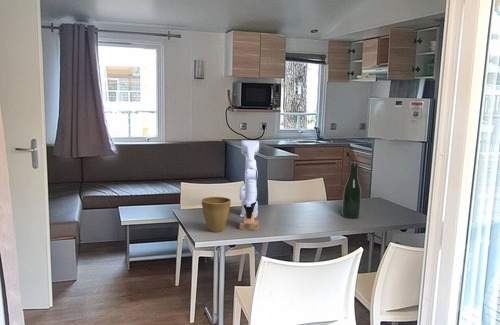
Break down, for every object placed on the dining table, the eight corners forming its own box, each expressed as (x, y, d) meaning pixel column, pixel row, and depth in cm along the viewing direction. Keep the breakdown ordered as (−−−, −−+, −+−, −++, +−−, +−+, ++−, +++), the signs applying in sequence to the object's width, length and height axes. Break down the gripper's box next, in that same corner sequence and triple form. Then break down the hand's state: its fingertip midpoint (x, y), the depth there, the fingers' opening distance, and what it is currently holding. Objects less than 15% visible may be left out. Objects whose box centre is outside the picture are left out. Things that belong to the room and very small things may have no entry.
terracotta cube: (254, 221, 243) (254, 212, 242) (253, 223, 238) (253, 214, 237) (245, 220, 243) (245, 211, 242) (243, 223, 238) (244, 213, 238)
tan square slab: (258, 225, 245) (258, 220, 244) (256, 230, 236) (257, 225, 235) (242, 224, 246) (242, 219, 245) (239, 229, 237) (239, 223, 237)
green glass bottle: (338, 216, 270) (341, 161, 265) (347, 213, 278) (351, 159, 273) (353, 220, 263) (357, 163, 258) (363, 216, 271) (367, 161, 265)
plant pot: (228, 225, 243) (229, 196, 241) (231, 234, 228) (232, 203, 226) (200, 225, 241) (201, 196, 238) (201, 234, 226) (201, 203, 224)
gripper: (244, 188, 246) (244, 212, 248) (241, 194, 231) (240, 220, 233) (257, 189, 245) (256, 213, 247) (254, 194, 230) (253, 220, 233)
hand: (249, 216), depth 240 cm, fingers open, 5 cm apart
